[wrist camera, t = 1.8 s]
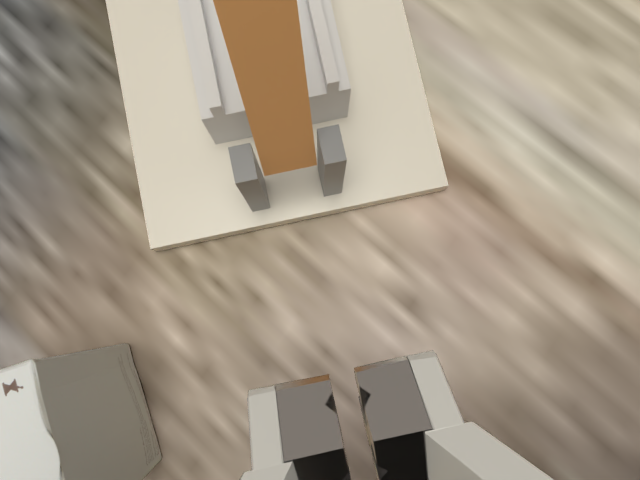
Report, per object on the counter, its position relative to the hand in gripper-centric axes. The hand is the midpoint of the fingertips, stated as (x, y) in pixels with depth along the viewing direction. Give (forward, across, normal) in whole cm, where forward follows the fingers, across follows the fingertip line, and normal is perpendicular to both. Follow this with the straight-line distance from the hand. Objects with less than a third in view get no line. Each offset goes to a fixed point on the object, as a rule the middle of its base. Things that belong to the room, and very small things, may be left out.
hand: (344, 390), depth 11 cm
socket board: (+34, 0, +7) cm, 35 cm away
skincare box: (+20, +15, +22) cm, 33 cm away
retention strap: (+18, 0, 0) cm, 18 cm away
